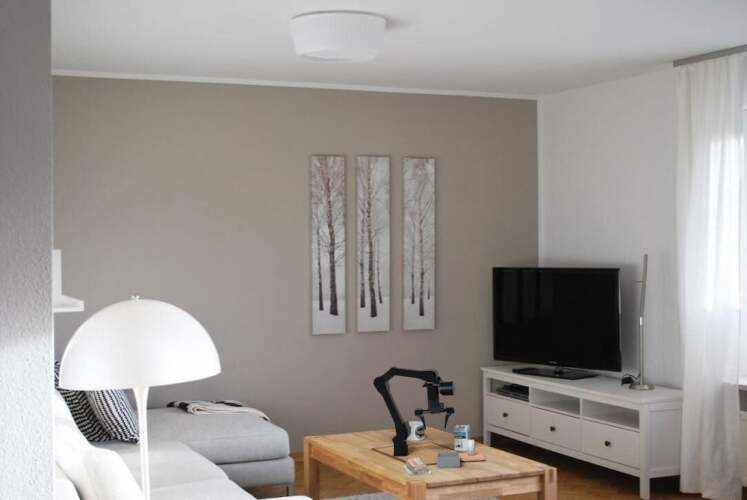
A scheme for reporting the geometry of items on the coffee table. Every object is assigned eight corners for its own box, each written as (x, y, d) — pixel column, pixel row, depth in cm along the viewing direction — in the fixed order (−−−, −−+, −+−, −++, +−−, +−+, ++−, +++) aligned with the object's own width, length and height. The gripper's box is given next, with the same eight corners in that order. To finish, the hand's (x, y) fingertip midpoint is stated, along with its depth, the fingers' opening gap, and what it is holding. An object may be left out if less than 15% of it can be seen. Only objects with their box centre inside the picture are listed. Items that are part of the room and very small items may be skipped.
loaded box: (437, 468, 439) (437, 457, 439) (437, 463, 449) (436, 452, 449) (459, 467, 438) (459, 456, 438) (459, 462, 448) (458, 451, 448)
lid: (462, 463, 449) (461, 442, 449) (458, 458, 459) (457, 438, 459) (484, 461, 450) (484, 441, 450) (480, 457, 460) (479, 437, 460)
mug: (412, 436, 514) (411, 420, 514) (429, 438, 508) (428, 422, 508) (397, 440, 503) (397, 424, 503) (414, 442, 497) (414, 426, 497)
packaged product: (432, 464, 427) (409, 465, 426) (432, 475, 427) (409, 477, 426) (424, 455, 445) (402, 457, 444) (424, 466, 445) (402, 467, 444)
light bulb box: (468, 451, 474) (467, 428, 474) (454, 450, 475) (453, 428, 475) (470, 446, 484) (469, 424, 484) (456, 446, 486) (456, 424, 486)
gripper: (414, 399, 456) (416, 433, 456) (454, 396, 457) (456, 430, 456) (413, 396, 467) (415, 429, 467) (452, 394, 468) (454, 427, 467)
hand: (435, 429), depth 464 cm, fingers open, 9 cm apart
